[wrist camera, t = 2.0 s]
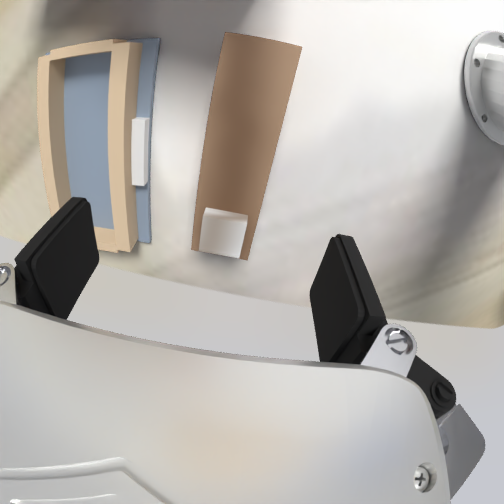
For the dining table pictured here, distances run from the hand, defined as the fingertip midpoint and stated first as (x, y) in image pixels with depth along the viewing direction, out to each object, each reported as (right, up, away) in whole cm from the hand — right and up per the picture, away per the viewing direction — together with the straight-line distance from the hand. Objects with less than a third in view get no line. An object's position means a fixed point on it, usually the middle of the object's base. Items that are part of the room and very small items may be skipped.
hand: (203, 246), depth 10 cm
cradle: (-13, +10, +12) cm, 20 cm away
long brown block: (+1, +9, +12) cm, 15 cm away
